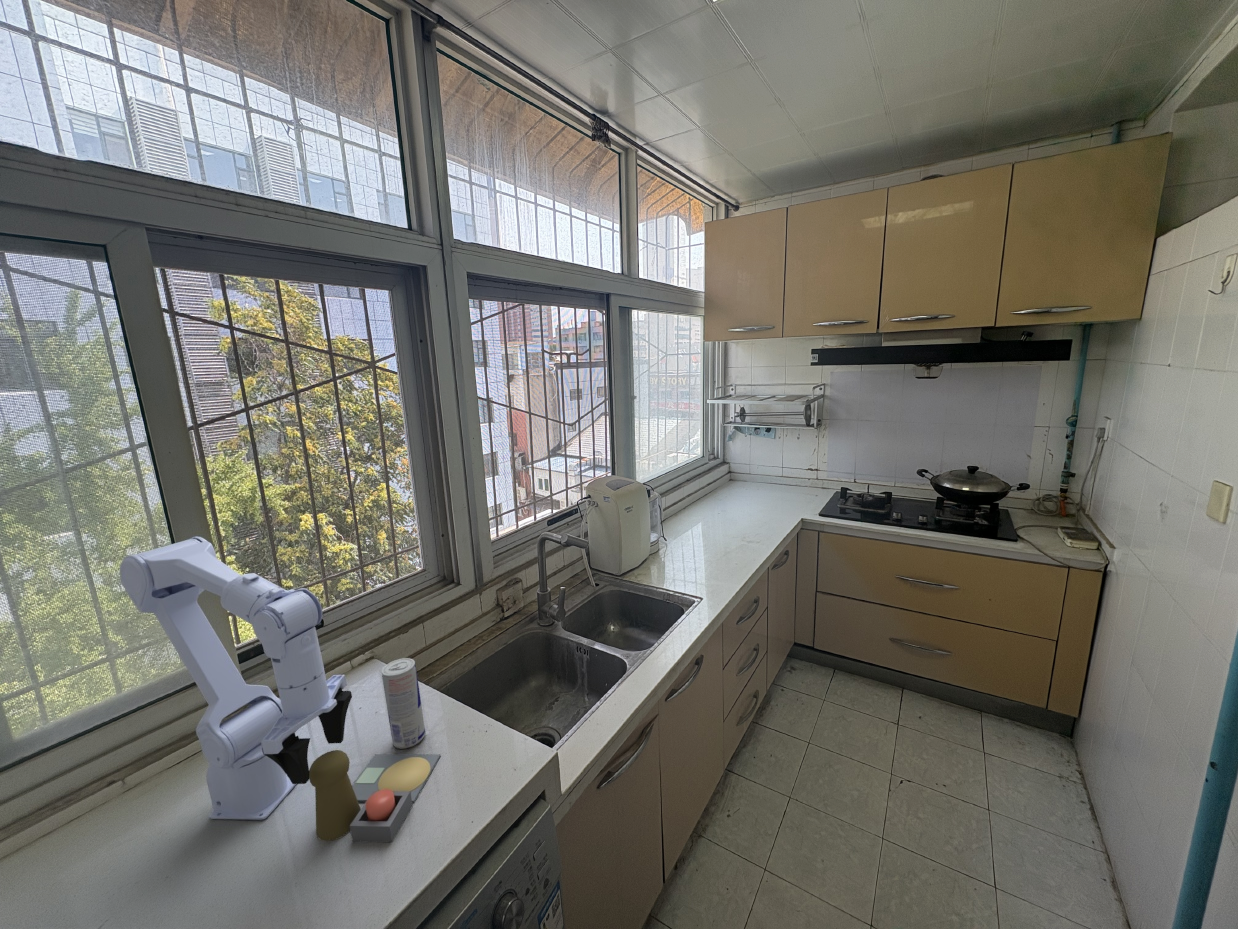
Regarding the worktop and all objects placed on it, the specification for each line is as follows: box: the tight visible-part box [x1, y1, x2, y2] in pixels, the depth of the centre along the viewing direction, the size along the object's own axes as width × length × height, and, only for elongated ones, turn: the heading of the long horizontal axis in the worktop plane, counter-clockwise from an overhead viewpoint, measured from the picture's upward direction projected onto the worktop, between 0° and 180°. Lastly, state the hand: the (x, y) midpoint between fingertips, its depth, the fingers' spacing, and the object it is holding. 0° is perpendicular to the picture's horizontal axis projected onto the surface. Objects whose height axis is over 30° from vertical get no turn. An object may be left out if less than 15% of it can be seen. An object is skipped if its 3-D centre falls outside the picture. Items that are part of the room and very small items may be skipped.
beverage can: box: [381, 657, 426, 750], centre depth 89 cm, size 6×6×15 cm
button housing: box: [350, 791, 413, 843], centre depth 73 cm, size 6×6×3 cm
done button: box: [365, 789, 396, 821], centre depth 72 cm, size 4×4×2 cm
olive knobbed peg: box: [308, 749, 362, 842], centre depth 72 cm, size 6×6×11 cm
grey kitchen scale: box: [352, 753, 441, 804], centre depth 81 cm, size 12×10×1 cm
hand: (319, 761), depth 72 cm, fingers open, 7 cm apart
